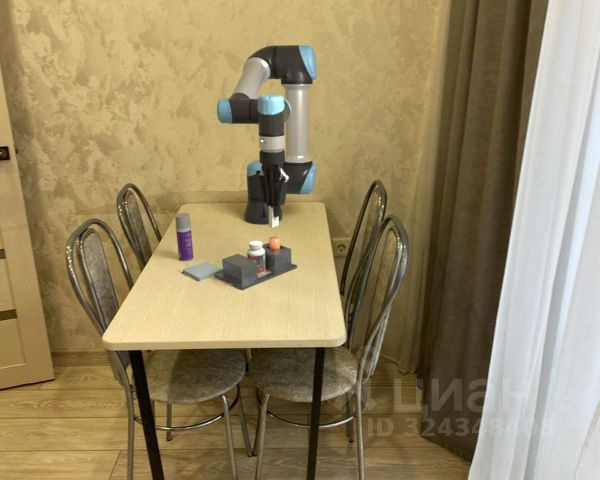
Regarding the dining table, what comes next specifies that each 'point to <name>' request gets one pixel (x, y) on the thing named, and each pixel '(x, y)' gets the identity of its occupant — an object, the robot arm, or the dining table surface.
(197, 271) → the pad
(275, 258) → the housing
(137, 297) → the dining table surface
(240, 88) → the robot arm
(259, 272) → the pill bottle
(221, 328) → the dining table surface
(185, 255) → the container
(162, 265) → the dining table surface
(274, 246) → the orange oval piece
